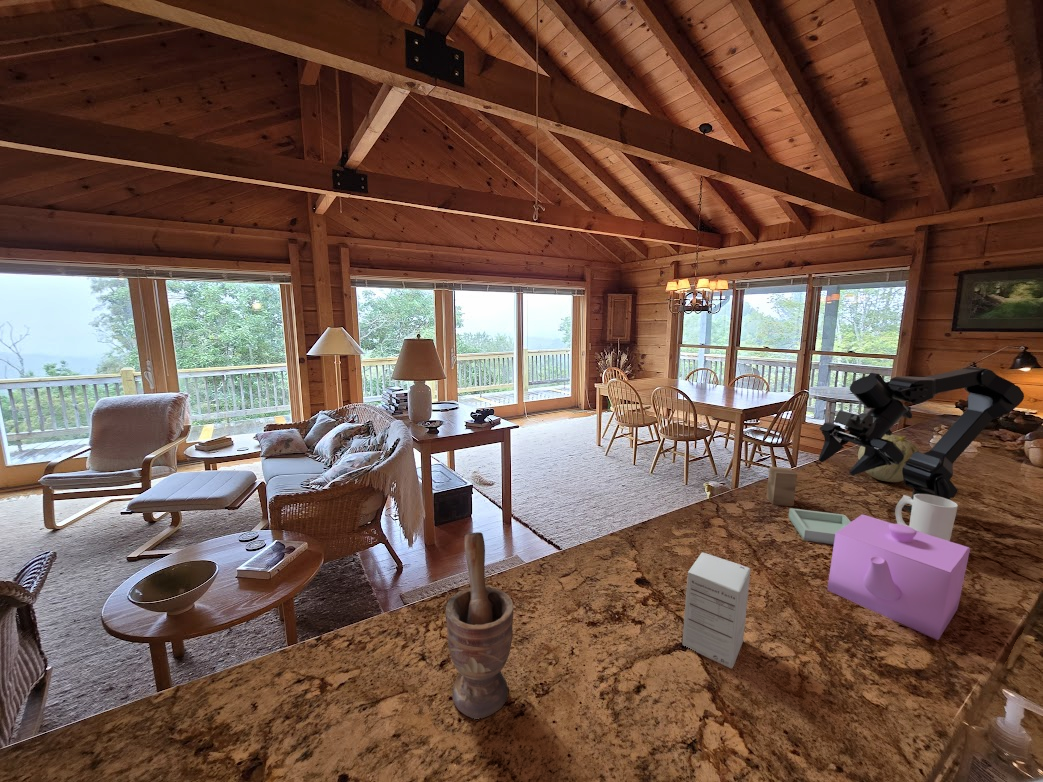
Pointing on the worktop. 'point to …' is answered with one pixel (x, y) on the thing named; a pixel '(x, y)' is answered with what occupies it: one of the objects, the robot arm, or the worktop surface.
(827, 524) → the tray
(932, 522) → the mug
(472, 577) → the mortar and pestle
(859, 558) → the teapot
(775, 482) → the walnut block
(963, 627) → the worktop surface
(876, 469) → the cantaloupe
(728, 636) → the supplement box
